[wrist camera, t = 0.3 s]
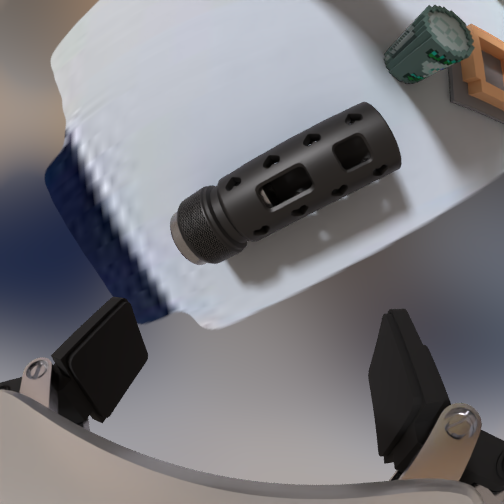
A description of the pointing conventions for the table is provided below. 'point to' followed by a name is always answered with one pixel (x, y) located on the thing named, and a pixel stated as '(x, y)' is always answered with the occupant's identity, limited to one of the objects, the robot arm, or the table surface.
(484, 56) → the socket block
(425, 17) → the can
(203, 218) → the muzzle brake
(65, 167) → the table surface
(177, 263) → the table surface
